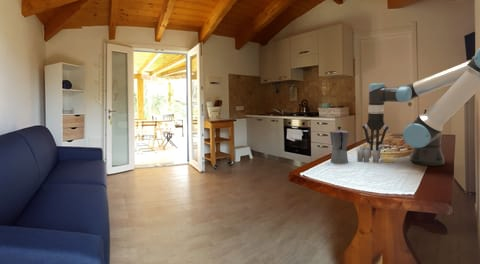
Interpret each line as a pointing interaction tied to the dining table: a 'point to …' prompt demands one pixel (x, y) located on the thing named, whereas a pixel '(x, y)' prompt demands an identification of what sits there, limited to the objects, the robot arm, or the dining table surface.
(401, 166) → the dining table surface
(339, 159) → the moka pot
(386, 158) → the nut
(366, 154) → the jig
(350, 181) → the dining table surface
